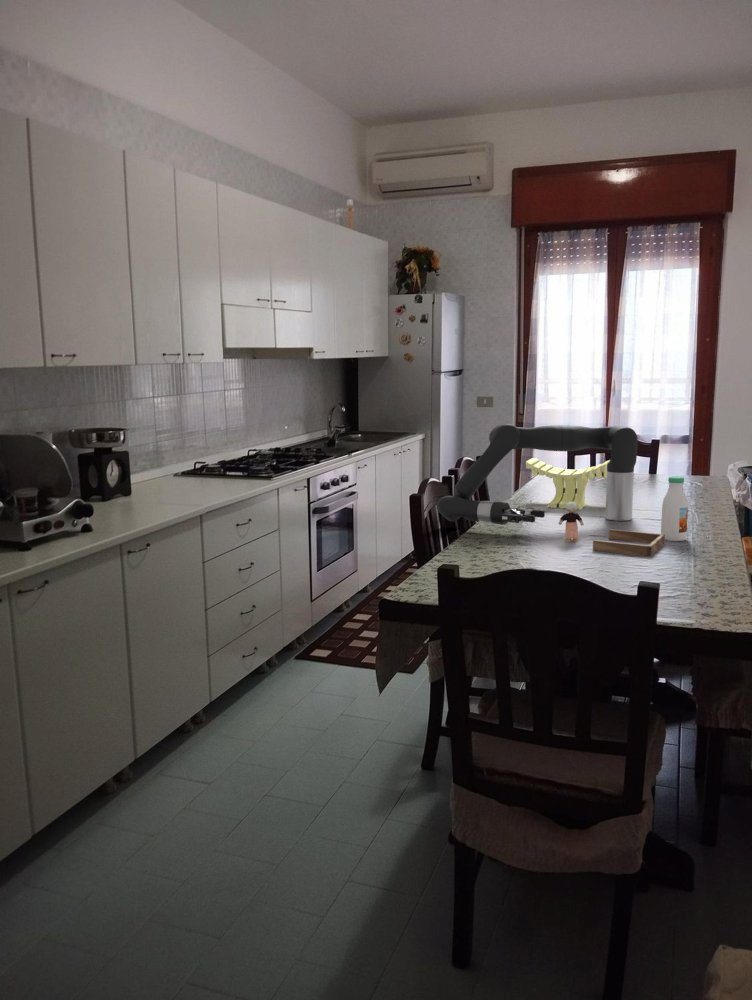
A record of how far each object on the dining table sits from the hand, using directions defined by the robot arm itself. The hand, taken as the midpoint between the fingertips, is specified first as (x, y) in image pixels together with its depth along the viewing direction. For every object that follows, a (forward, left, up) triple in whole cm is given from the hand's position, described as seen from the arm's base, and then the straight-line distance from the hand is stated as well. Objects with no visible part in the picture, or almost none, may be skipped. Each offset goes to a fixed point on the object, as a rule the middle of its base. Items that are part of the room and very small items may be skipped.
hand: (539, 516), depth 259 cm
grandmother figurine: (0, +10, -7) cm, 13 cm away
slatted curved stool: (-59, -10, -7) cm, 60 cm away
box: (0, +28, -7) cm, 29 cm away
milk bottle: (-17, +38, -7) cm, 43 cm away
